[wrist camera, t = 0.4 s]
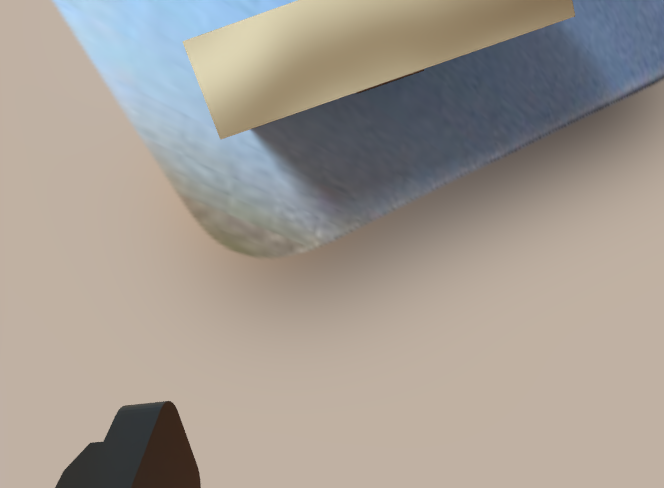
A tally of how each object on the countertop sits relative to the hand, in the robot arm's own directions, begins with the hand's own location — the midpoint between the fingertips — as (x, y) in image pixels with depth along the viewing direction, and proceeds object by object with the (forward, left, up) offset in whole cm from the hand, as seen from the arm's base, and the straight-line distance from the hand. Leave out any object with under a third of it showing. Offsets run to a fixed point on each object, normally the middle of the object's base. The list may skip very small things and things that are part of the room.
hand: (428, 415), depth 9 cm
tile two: (-6, +3, -26) cm, 27 cm away
